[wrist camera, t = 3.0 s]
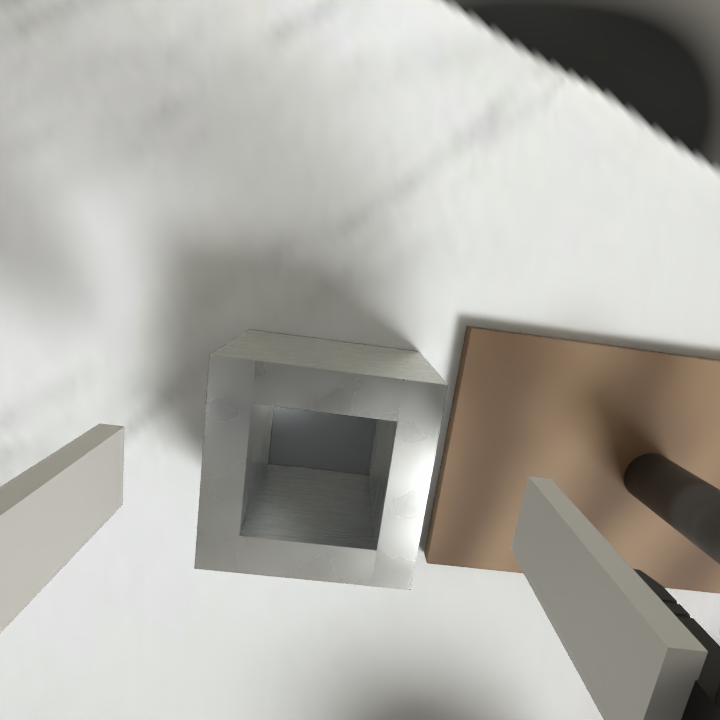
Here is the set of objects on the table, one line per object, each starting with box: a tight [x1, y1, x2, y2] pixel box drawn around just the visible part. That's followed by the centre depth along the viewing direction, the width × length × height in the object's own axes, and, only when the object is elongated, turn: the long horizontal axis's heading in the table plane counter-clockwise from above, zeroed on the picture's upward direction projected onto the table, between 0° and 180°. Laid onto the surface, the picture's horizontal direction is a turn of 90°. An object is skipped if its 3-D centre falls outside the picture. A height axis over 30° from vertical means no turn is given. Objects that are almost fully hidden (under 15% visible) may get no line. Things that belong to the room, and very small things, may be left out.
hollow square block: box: [194, 330, 448, 590], centre depth 18 cm, size 8×8×6 cm
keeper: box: [424, 326, 720, 593], centre depth 18 cm, size 16×12×8 cm
